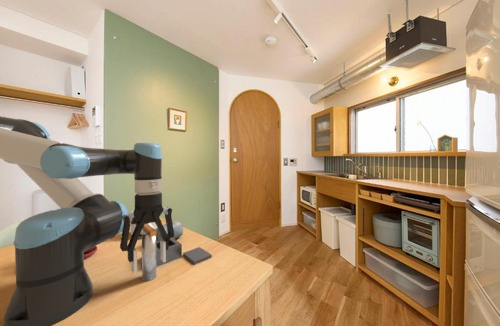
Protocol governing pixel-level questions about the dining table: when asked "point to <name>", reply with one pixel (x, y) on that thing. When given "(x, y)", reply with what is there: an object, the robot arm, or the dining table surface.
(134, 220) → the spread jar
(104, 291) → the dining table surface
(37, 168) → the robot arm
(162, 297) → the dining table surface
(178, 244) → the block
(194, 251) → the rest mat
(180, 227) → the spool
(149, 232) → the chuck key
